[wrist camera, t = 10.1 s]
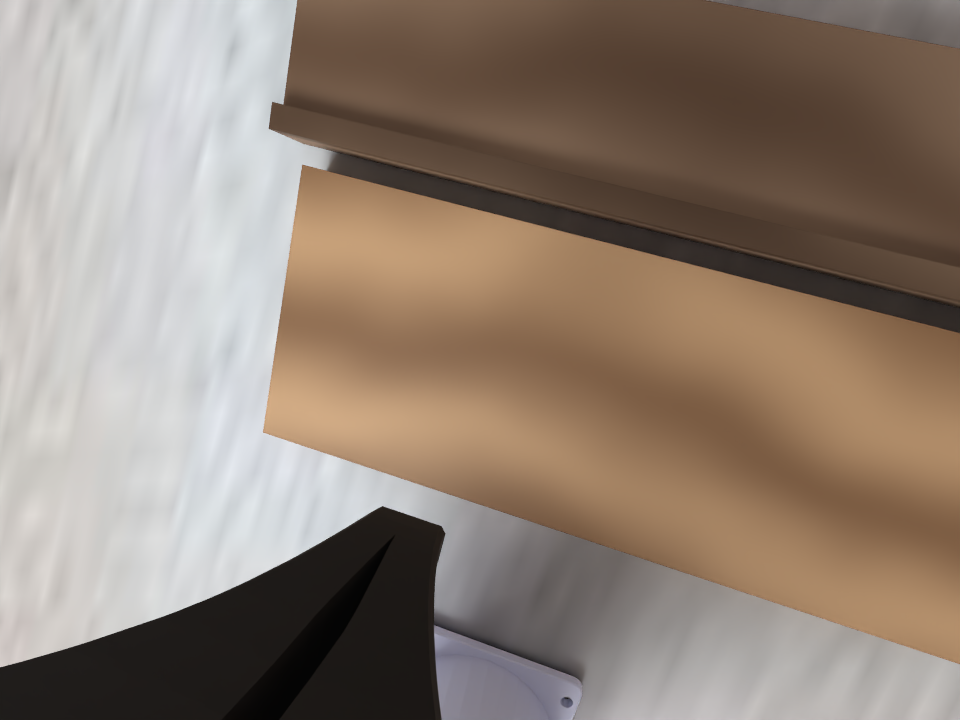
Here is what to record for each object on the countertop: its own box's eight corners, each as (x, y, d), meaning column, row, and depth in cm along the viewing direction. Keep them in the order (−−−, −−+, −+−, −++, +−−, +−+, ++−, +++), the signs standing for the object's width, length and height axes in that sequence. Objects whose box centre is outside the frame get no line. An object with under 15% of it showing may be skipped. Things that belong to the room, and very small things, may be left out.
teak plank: (948, 636, 17) (983, 672, 15) (285, 419, 20) (262, 432, 18) (1111, 374, 14) (1172, 387, 13) (324, 172, 17) (302, 165, 16)
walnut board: (1162, 358, 14) (1262, 375, 12) (303, 143, 17) (268, 128, 15) (1299, 146, 12) (1441, 124, 10) (331, -45, 16) (296, -90, 14)
